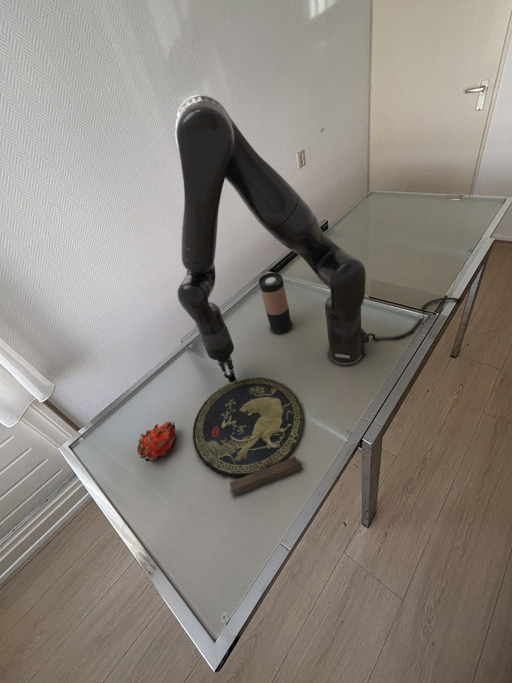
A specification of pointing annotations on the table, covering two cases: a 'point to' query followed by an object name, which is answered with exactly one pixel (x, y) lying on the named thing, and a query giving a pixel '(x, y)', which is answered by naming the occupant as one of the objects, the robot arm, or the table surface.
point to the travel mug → (275, 302)
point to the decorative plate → (247, 427)
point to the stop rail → (264, 476)
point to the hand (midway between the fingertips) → (232, 379)
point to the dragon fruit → (156, 441)
